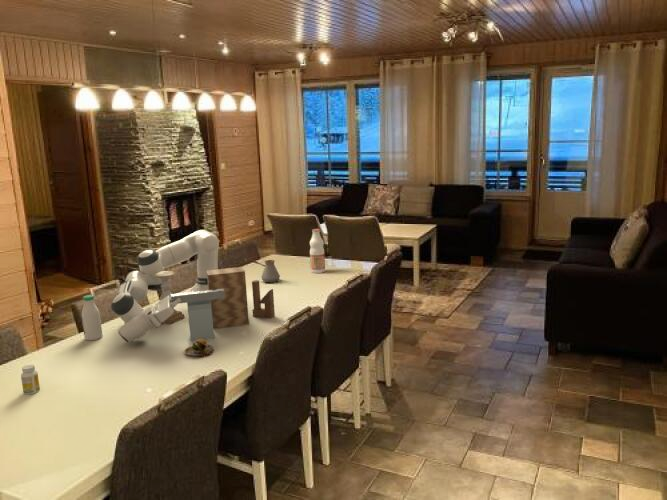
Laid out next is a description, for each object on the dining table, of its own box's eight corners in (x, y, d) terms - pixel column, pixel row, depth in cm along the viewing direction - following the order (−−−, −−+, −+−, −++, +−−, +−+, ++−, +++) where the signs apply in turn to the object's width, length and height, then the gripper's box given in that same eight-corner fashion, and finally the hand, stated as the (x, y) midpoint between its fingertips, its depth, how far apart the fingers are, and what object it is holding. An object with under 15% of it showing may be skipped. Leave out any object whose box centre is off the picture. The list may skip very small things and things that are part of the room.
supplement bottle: (27, 396, 202) (23, 371, 200) (21, 392, 205) (17, 367, 203) (42, 390, 206) (38, 366, 204) (36, 387, 209) (32, 362, 207)
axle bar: (171, 304, 247) (171, 296, 247) (171, 302, 251) (171, 294, 250) (225, 298, 253) (224, 290, 253) (224, 296, 257) (223, 288, 256)
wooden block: (271, 318, 277) (269, 282, 274) (252, 316, 281) (250, 281, 278) (275, 316, 281) (272, 281, 277) (256, 314, 285) (253, 279, 281)
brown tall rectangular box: (212, 328, 265) (208, 275, 260) (211, 322, 275) (206, 270, 270) (249, 324, 270) (244, 271, 265) (246, 318, 279) (242, 266, 274)
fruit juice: (307, 272, 369) (305, 229, 363) (318, 269, 375) (316, 227, 370) (317, 274, 362) (315, 231, 357) (328, 271, 369) (326, 229, 363)
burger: (182, 351, 240) (181, 334, 238) (210, 346, 244) (209, 329, 242) (187, 361, 229) (185, 343, 227) (216, 355, 233) (215, 338, 232)
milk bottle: (106, 335, 263) (101, 294, 259) (94, 341, 255) (88, 298, 252) (93, 334, 265) (87, 293, 261) (80, 340, 258) (75, 298, 254)
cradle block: (191, 341, 250) (187, 306, 247) (190, 335, 258) (187, 301, 255) (214, 338, 253) (211, 303, 250) (212, 332, 261) (209, 299, 257)
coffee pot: (282, 278, 354) (280, 255, 351) (277, 283, 343) (276, 259, 340) (249, 279, 357) (247, 255, 354) (243, 283, 346) (242, 259, 343)
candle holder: (185, 317, 285) (180, 271, 280) (170, 324, 275) (165, 276, 270) (168, 315, 289) (163, 270, 285) (153, 322, 280) (147, 275, 275)
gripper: (158, 314, 258) (183, 296, 260) (157, 328, 239) (185, 309, 241) (149, 303, 256) (175, 286, 258) (148, 317, 237) (176, 297, 239)
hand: (180, 297), depth 250 cm, fingers closed on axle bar, 3 cm apart
